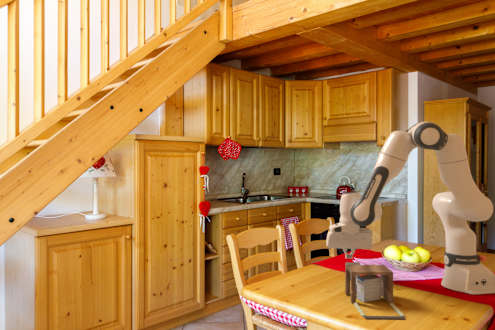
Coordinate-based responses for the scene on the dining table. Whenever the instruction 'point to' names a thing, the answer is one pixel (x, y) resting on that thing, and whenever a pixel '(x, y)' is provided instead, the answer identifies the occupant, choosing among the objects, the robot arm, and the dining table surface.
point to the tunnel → (369, 270)
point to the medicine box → (368, 288)
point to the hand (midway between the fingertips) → (348, 258)
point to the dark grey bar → (384, 317)
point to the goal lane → (390, 304)
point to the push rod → (350, 273)
